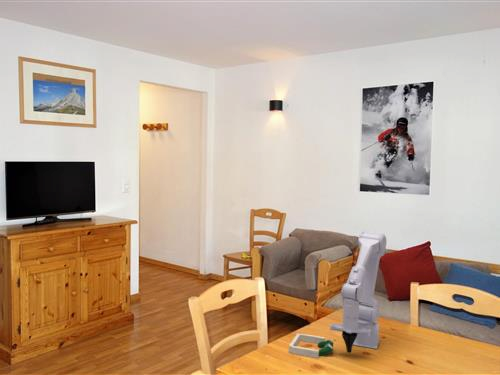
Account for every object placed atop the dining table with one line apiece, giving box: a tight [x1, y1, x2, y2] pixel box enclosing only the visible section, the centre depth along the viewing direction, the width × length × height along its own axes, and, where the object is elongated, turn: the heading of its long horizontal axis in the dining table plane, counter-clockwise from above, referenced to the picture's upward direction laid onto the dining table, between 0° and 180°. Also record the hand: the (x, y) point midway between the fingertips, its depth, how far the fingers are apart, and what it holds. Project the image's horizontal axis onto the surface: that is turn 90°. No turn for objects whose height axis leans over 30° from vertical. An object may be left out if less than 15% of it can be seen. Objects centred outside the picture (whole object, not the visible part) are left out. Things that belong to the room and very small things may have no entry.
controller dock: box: [288, 333, 327, 359], centre depth 173 cm, size 11×14×2 cm
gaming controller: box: [317, 337, 334, 357], centre depth 170 cm, size 9×4×6 cm
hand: (349, 351), depth 168 cm, fingers closed
